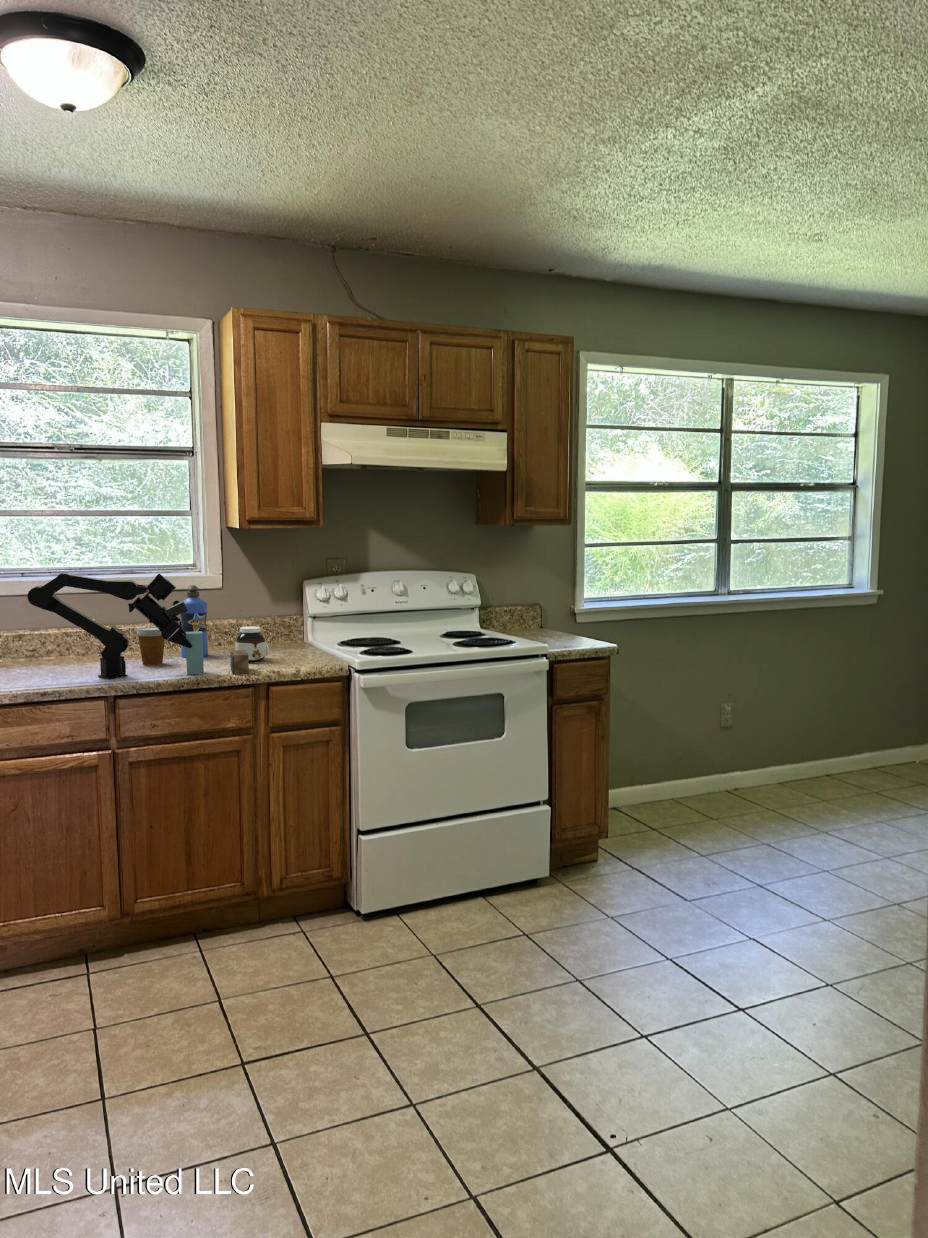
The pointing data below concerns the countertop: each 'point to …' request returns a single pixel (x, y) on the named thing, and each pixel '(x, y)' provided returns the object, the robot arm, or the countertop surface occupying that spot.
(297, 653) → the countertop surface
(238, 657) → the block
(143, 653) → the disposable coffee cup
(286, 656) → the countertop surface
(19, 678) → the countertop surface
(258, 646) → the spread jar
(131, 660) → the countertop surface
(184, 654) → the water bottle
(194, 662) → the teal block
